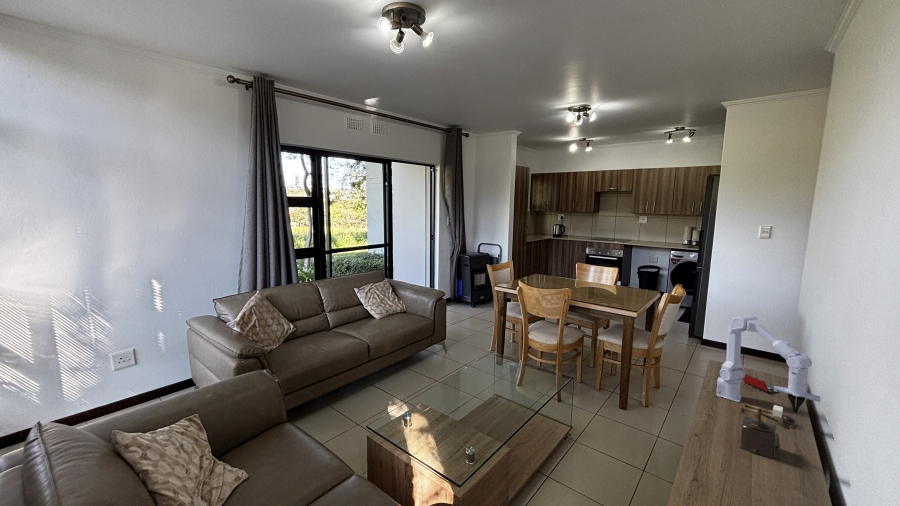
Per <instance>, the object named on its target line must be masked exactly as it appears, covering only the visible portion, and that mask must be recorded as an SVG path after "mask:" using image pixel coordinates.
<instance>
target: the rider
mask: <svg viewBox="0 0 900 506" xmlns="http://www.w3.org/2000/svg"><path fill="white" fill-rule="evenodd" d="M783 410H784V407H783V406H781V405H780V406H779V405H775V404H773V408H772V411H773V416H776V417H780V418H782V414H784V413H783Z"/></svg>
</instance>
